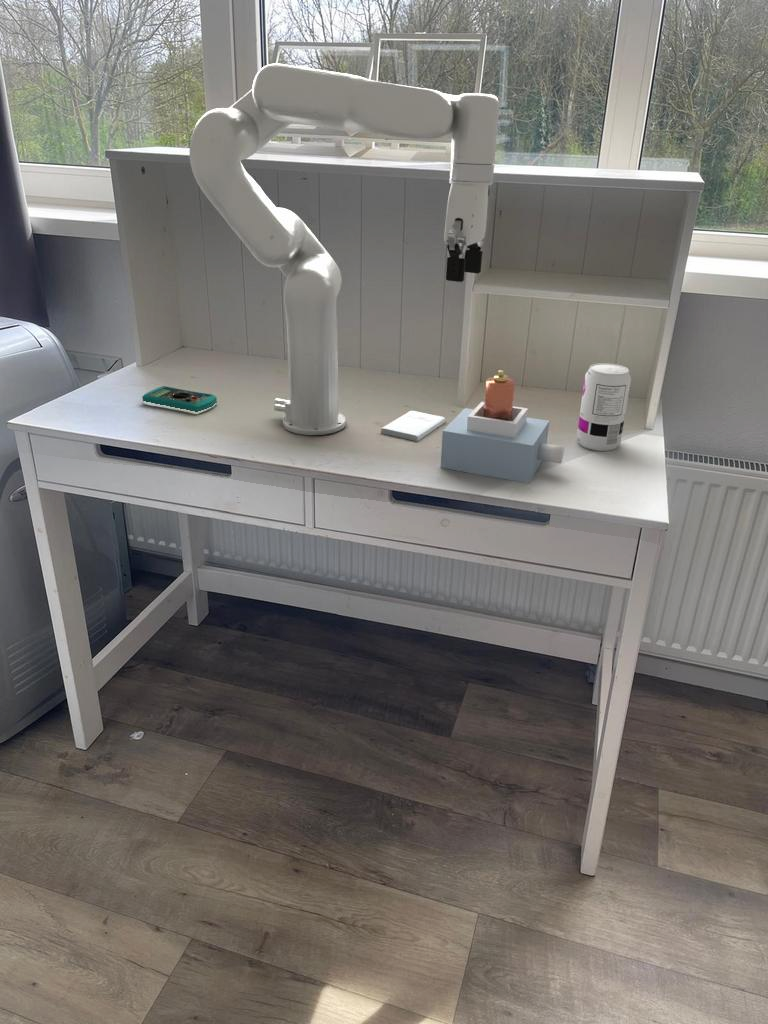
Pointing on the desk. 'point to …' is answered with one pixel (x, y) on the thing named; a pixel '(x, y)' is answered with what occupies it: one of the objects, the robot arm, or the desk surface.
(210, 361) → the desk surface
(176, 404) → the digital multimeter
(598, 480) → the desk surface
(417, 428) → the external hard drive
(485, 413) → the orange gas canister
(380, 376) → the desk surface
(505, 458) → the gearbox
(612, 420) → the supplement can
